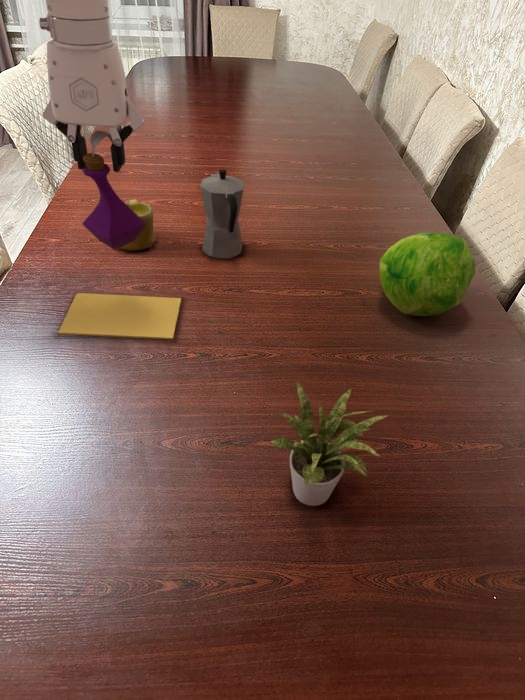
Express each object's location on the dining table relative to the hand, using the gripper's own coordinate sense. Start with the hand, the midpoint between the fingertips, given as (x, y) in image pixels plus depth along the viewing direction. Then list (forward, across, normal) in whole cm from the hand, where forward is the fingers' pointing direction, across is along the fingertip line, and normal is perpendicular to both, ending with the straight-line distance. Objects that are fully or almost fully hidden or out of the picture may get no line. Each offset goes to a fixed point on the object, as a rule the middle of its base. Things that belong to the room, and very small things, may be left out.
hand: (100, 166), depth 80 cm
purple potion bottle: (+13, +1, 0) cm, 13 cm away
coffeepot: (+27, +18, +23) cm, 39 cm away
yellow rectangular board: (+27, +1, -3) cm, 27 cm away
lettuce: (+27, +57, +6) cm, 63 cm away
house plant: (+27, +35, -39) cm, 59 cm away
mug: (+27, -3, +25) cm, 37 cm away
